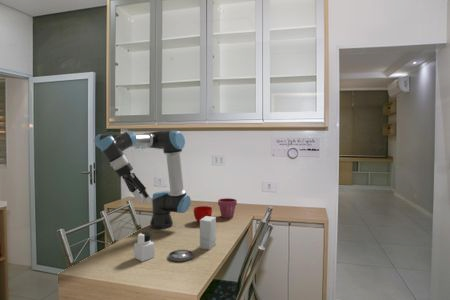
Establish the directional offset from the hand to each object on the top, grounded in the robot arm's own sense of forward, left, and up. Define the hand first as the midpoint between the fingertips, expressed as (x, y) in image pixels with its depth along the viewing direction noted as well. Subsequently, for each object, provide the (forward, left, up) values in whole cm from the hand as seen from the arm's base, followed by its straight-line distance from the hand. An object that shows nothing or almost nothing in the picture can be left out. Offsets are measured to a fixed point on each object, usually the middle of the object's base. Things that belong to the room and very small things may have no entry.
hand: (145, 202), depth 135 cm
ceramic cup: (-56, +26, -27) cm, 67 cm away
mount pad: (+1, +17, -27) cm, 32 cm away
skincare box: (-12, +30, -27) cm, 42 cm away
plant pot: (-72, +43, -27) cm, 88 cm away
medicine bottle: (+1, -1, -27) cm, 27 cm away
